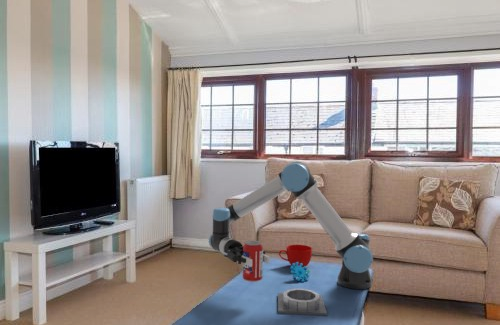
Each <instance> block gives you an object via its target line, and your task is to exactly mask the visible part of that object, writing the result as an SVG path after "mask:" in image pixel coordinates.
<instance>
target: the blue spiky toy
mask: <svg viewBox="0 0 500 325" xmlns="http://www.w3.org/2000/svg"><path fill="white" fill-rule="evenodd" d="M295 264H296V266H295ZM298 264H299V263H298V262H296V263H293V264H292V266H291V265H290V274H293V275H292V277H293V278H294V279H296V281H298V282H299V281H300V282H302V283H304V282H307V281H308V280H309V278H310V274H309V273H310V272H311V269H308V268H307V267H308V266H304V267H301V266H302V265H303V264H302V263H300V266H298ZM293 267H294V268H293ZM306 269H307V270H306Z"/></svg>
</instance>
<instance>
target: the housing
mask: <svg viewBox="0 0 500 325" xmlns="http://www.w3.org/2000/svg"><path fill="white" fill-rule="evenodd" d="M277 307H278V308H277V312H278V314H286V315H287V314H288V315H308V316H328V311H327V309H326V308H327V307H326V304H325V302H324V299H323V296H322V294H319V293H318V292H316V291H314V290H310V289H307V288H290V289H287V290H285V291H283V293H282V292H281V293H279V292H278V293H277Z"/></svg>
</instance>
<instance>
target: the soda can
mask: <svg viewBox="0 0 500 325" xmlns="http://www.w3.org/2000/svg"><path fill="white" fill-rule="evenodd" d="M242 246H243V256H245V257H248V258H250V259H252V267H250V266H248V265H246V264H244V263H242V279H243V280H244V281H246V282H247V283H258V282H260V281H262V280H263V275H264V272H263V269H264V268H263V267H264V262H263V251H264V246H263V244H262V242H261V241H260V240H247V241H245V242H244V245H242Z"/></svg>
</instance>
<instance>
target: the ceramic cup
mask: <svg viewBox="0 0 500 325" xmlns="http://www.w3.org/2000/svg"><path fill="white" fill-rule="evenodd" d="M283 252H285V253H286V258H285V257H283V256H282V253H283ZM278 255H279V258H281V260H284V261H286V262H289V265H290V267H291V266H292V264H293V263H296V262H298V263H299V264H298V266H300V263H302V264H303V265H302V266H301V267H304V266H306V267H308V265H309V264H310V262H311V260H312V255H313V248H312V247H311V246H310V245H304V244H289V245H287V246H286V250H285V249H281V250H279V252H278ZM295 266H296V264H295ZM293 268H294V267H293Z"/></svg>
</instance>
